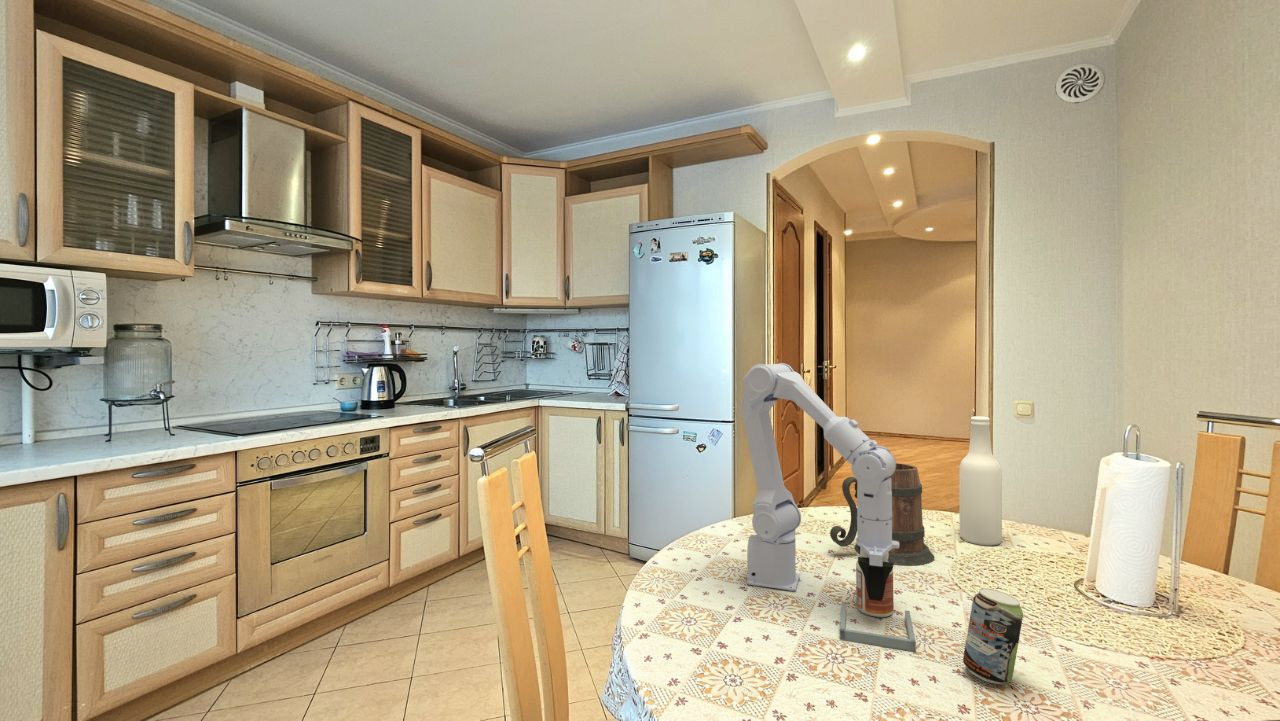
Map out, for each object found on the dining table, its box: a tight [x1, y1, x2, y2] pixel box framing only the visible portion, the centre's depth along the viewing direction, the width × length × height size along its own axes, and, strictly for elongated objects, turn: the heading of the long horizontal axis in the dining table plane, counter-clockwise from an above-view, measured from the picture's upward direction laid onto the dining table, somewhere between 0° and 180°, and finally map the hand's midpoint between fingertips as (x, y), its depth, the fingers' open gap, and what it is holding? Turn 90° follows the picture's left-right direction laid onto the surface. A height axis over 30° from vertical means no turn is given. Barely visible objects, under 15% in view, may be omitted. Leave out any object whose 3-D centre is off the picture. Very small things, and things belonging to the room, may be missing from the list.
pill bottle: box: [855, 548, 895, 618], centre depth 100 cm, size 6×6×11 cm
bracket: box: [839, 600, 917, 653], centre depth 93 cm, size 11×11×2 cm
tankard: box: [829, 462, 936, 567], centre depth 127 cm, size 24×17×20 cm
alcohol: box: [958, 415, 1003, 547], centre depth 135 cm, size 9×9×30 cm
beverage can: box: [962, 587, 1024, 685], centre depth 79 cm, size 6×7×12 cm
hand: (874, 591), depth 100 cm, fingers open, 6 cm apart
